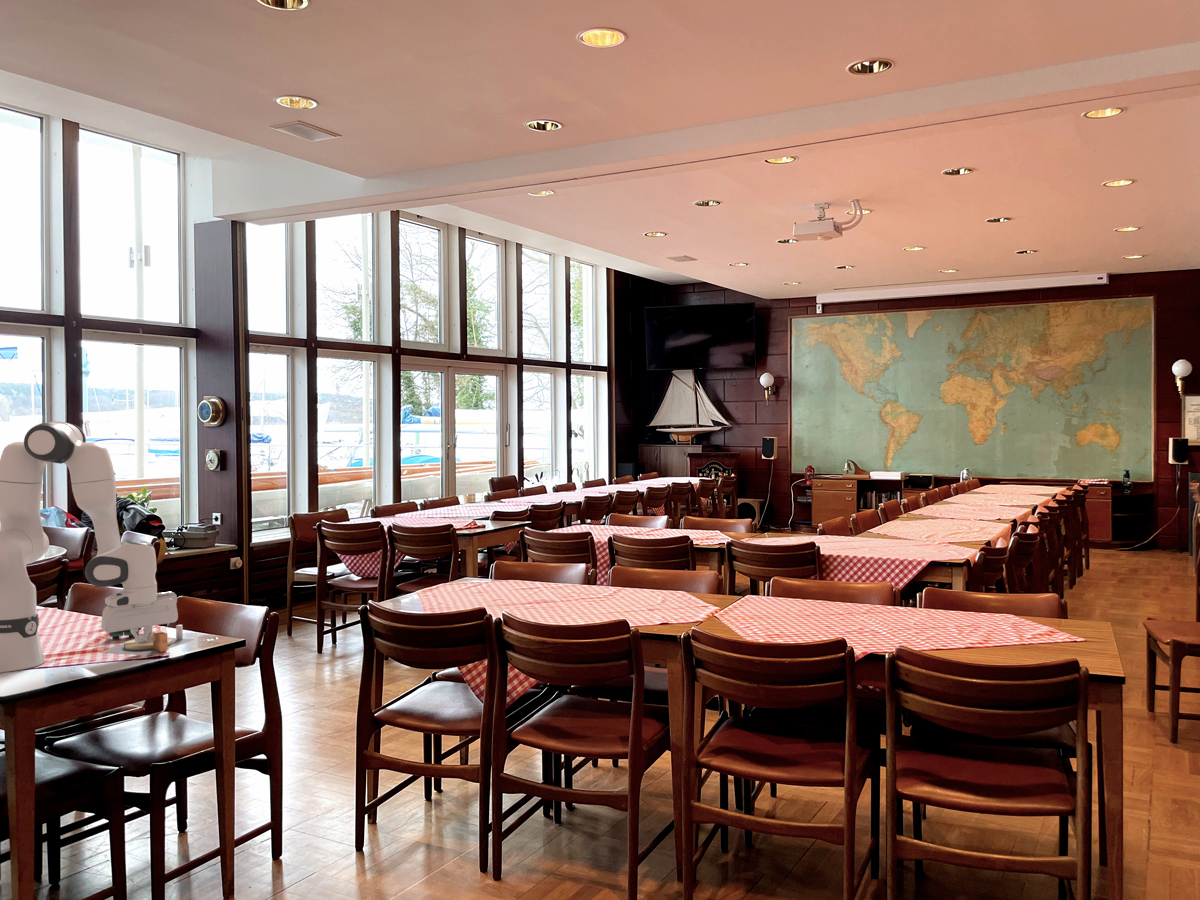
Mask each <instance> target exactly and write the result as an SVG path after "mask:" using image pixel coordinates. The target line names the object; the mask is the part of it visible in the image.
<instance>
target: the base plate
mask: <svg viewBox="0 0 1200 900" xmlns="http://www.w3.org/2000/svg"><path fill="white" fill-rule="evenodd" d="M183 628H184V627H183V624H177V625H175V633H176V634H175V637H171V638H172V643H171V644H170V645H168V650H169V649H172V648H173V647H177V646H179V645H182V644H183V645H184V644H186V643H188V642H191V641H195V639H194V638H183V637H184V636H183ZM142 629H143V633H144V632H145V629H144V627H142ZM152 632H153V626H151V631H150V633H152ZM159 652H160V651H157V650H155V649H146V650H129V649H125V648H124V643H122V644H121V645H118V646H115V647H111V648H108V649H105V650H103V651H100V652H99V653H100V654H101V653H103V654H118V655H133V656H134V655H136V656H138V655H139V656H152V655H154V654H158V653H159ZM160 653H161V652H160Z"/></svg>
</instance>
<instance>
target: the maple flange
mask: <svg viewBox="0 0 1200 900" xmlns="http://www.w3.org/2000/svg"><path fill="white" fill-rule="evenodd" d="M139 634H140V635H139V636H143V634H144V632H141V633H139ZM172 638H173V637H169V636H168V633H166V632H164V631H162V630H161V631H160V630H157V631H152V633H149V635H148V636H147V639H148V641H147V642H143V643H135V638H132V639H131V640H127V641H124V643H123V644H124V648H125V649H129V650H146V649H155V650H157V651H160V653H161V652H167V651H168V650H169V649H168V645H170V644H171V643H172Z"/></svg>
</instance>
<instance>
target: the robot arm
mask: <svg viewBox="0 0 1200 900" xmlns="http://www.w3.org/2000/svg"><path fill="white" fill-rule="evenodd" d="M86 438H87V437H86V435H85V432H84V431H83V430H82V428H80V427H79V426H78V425H76V424H75V423H73V422H72V423H71V422H68V421H49V422H41V423H38V424H36V425H34V426H32V427H31V428H30V429H28V431H27V432H26V433H25V436H24V439H23V441H16V442H12V443H10V444H7V445H6V446H5V447H4V449H3V451H2V453H1V455H0V673H4V672H13V671H21V670H26V669H30V668H34V667H37V666H40V665H42V664H44V663H45V659H44V658H45V655H44V653H43V652H42V645H41V638H40V633H39V630H38V629H39V626H40V624H39V622H40V617H39V613H37V609H38V608H37V589H36V588H37V587H36V585H35V584H34V583H33V582H32V581H31V579H30V577H29V574H28V570H27V565H29V564H32V563H35V562H37V561H38V560H39V559H41V558H42V557H43V556H44V555H46V553H47V552H48V550H49V546H50V541H49V537H48V535H47V534H46V532H44V528H43V523H42V518H41V517H42V516H41V500H42V489H43V479H44V470H45V467H46V465H47V464H48V463H54V464H59V465H60V464H65V465H66V467H67V468H68V470H69V476H70V483H71V490H72V494H73V498H74V501H75V502H76V505H77V507H78V508H79V509H80V510H81V511H83V512H84V513H85V514H86V515H87V516H88V517H89V518H90V520H91V521H92V522H91V523H92V524H93V530H94V534H95V541H96V545H97V553H96V555H95V556H94V557H93V558H92V559H90V560H89V561H88V562H87V563H86V566H85V569H84V575H85V578H86V580H87V582H88V583H90V584H91V585H92V586H95V587H97V588H108V587H112V586H116V585H119V584H122V590H120V591H118V592H115V593H113V594H111V595H108V596H107V597H105V598H104V603H105V604H106V606H105V607H104V608H103V610H102V615H101V629H102V631H103V632H105V633H108V634H109V633H111V632H117V631H123V630H129V629H130V631H131V633H132V634H133V636H134V637H135V638H134V639H135V643H143V642H147V641H148V639H147V636H148V635H149V633H150V631H151V626H152V627H154V626H161V625H167V624H172V623H176V622H177V621H178V619H179V613H178V608H177V607H178V605H177V603H178V597H177V594H176V593H175V592H172V591H166V592H158V582H157V579H156V573H157V570H158V569H157V556H156V549H155V547H154V545H153V544H152V543H151V542H148V541H145V540H139V539H138V540H137V539H135V540H134V539H132V540H131V539H130V540H126V541H125V542H124V543H122V538H121V534H120V528H119V523H118V517H117V484H116V482H117V481H116V477H115V471H114V466H113V462H112V459H111V456H110V453H109V452H108V448H107V447H106V446H104V445H103V444H102V443H101V444H100V443H97V442H92V441H91V442H87V441H86V440H87V439H86ZM143 627H144V629H145V632H144V631H143V633H144V634H143V636H140V635H138V634H137V633H136V632H138V628H142V629H143ZM144 629H143V630H144Z"/></svg>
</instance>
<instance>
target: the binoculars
mask: <svg viewBox="0 0 1200 900" xmlns="http://www.w3.org/2000/svg"><path fill="white" fill-rule="evenodd" d="M142 629H143V627H142V628H138V632H136V633H137V634H138V636H140V634H141V633H140V631H141V630H142ZM108 634H109V635H108V636H109V637H112V641H116V640H120V637H123V636H125V637H126V636H128V639H131V640H133V639H135V637H134V636H133V634H132V633H131V631H130V629H129V630H123V631H117V632H111V633H108Z"/></svg>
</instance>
